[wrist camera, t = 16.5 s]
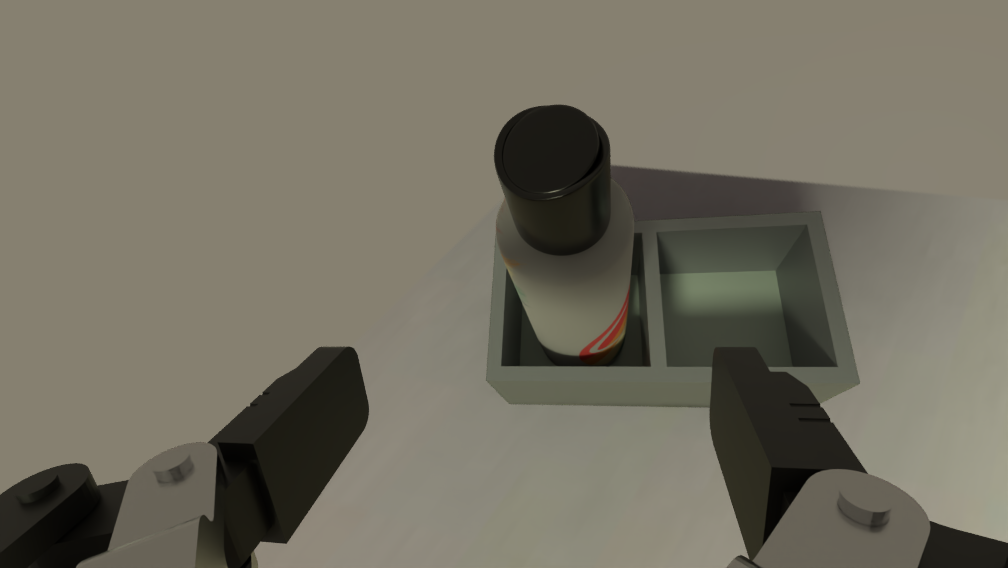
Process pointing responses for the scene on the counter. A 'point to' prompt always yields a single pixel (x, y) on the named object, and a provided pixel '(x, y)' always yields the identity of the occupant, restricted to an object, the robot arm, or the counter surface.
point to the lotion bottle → (565, 233)
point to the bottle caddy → (693, 316)
